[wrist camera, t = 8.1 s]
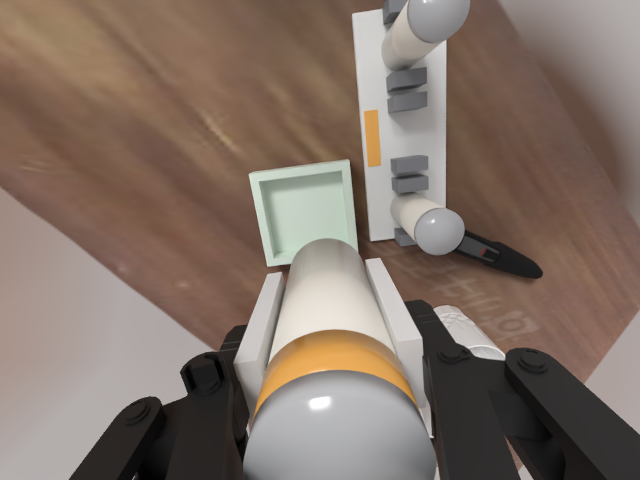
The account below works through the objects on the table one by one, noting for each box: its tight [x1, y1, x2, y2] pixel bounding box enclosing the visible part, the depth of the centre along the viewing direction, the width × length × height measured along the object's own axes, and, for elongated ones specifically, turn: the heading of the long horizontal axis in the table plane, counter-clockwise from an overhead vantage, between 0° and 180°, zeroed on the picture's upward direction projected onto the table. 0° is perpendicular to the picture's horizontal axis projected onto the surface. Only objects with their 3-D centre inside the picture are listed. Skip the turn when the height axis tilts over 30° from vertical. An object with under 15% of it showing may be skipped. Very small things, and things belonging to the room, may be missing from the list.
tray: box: [249, 159, 358, 267], centre depth 38 cm, size 12×12×3 cm
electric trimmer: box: [452, 230, 543, 279], centre depth 39 cm, size 4×16×3 cm, turn 67°
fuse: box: [390, 191, 465, 255], centre depth 33 cm, size 4×4×11 cm
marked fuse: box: [243, 238, 436, 480], centre depth 12 cm, size 4×4×11 cm
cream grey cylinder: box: [381, 0, 470, 71], centre depth 28 cm, size 4×4×11 cm
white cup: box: [433, 305, 505, 360], centre depth 40 cm, size 8×8×10 cm
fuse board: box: [352, 0, 446, 247], centre depth 35 cm, size 26×10×4 cm, turn 8°
